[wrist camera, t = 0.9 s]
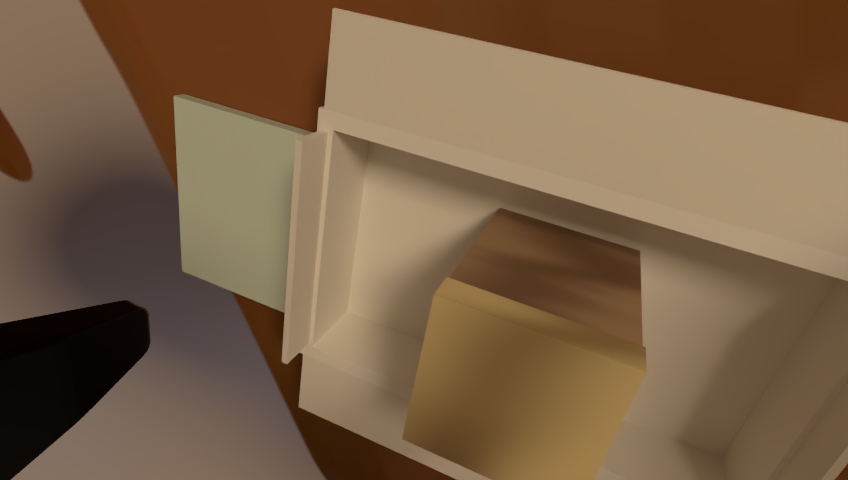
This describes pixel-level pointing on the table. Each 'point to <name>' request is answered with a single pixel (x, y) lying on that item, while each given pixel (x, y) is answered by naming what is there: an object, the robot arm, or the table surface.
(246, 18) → the table surface
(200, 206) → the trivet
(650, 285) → the cream tray
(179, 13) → the table surface
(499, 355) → the tea box
